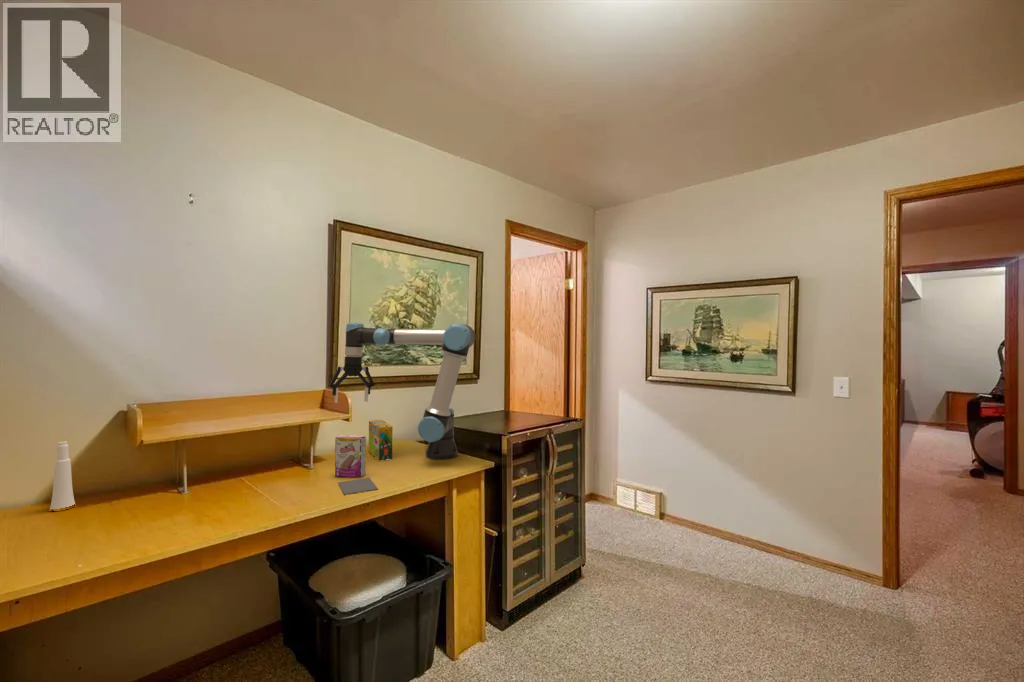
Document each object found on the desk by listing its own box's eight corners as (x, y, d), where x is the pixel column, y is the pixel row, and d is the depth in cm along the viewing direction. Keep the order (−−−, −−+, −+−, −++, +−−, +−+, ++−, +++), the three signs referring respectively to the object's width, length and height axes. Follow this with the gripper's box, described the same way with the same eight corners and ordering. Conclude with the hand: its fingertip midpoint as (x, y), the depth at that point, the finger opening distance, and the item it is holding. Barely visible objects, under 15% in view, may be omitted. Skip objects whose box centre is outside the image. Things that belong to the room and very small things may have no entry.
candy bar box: (334, 477, 181) (334, 437, 181) (340, 473, 186) (340, 434, 186) (360, 478, 180) (361, 437, 180) (366, 474, 185) (366, 435, 185)
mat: (369, 478, 179) (369, 477, 179) (378, 489, 166) (378, 488, 166) (337, 483, 173) (337, 482, 173) (344, 495, 160) (344, 494, 160)
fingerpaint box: (393, 459, 208) (393, 425, 208) (378, 461, 205) (378, 427, 204) (382, 450, 224) (382, 419, 224) (368, 452, 221) (368, 420, 221)
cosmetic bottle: (78, 507, 148) (78, 441, 148) (53, 513, 143) (52, 445, 142) (71, 503, 151) (71, 439, 151) (46, 509, 146) (46, 442, 146)
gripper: (377, 356, 216) (375, 399, 216) (322, 355, 201) (320, 401, 201) (382, 357, 210) (380, 402, 210) (326, 356, 195) (324, 404, 195)
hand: (351, 402), depth 206 cm, fingers open, 13 cm apart
